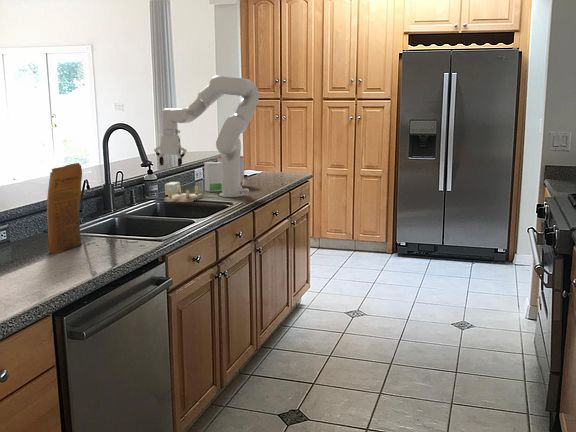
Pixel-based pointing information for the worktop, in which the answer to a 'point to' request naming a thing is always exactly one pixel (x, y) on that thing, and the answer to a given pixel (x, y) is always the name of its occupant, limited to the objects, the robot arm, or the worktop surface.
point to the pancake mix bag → (64, 208)
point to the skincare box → (213, 176)
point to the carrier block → (172, 187)
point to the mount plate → (182, 196)
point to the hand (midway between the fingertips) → (170, 165)
